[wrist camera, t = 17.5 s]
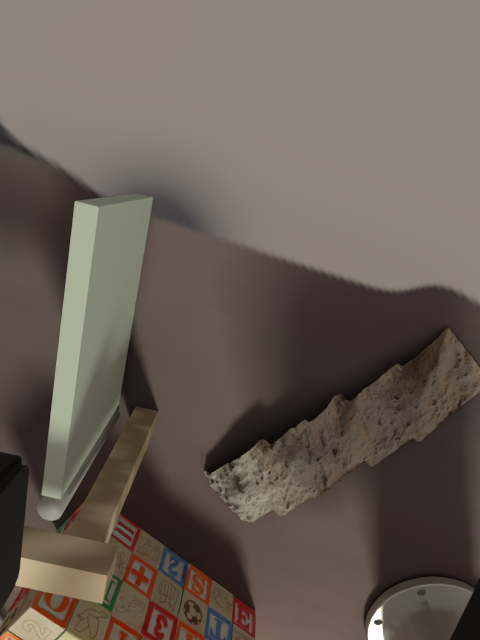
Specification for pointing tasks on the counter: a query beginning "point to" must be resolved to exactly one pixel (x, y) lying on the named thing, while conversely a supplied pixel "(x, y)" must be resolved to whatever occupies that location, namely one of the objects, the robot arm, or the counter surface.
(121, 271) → the door
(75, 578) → the door frame
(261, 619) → the counter surface
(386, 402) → the stone fragment
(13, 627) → the stack of blocks
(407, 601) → the robot arm
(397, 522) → the counter surface
